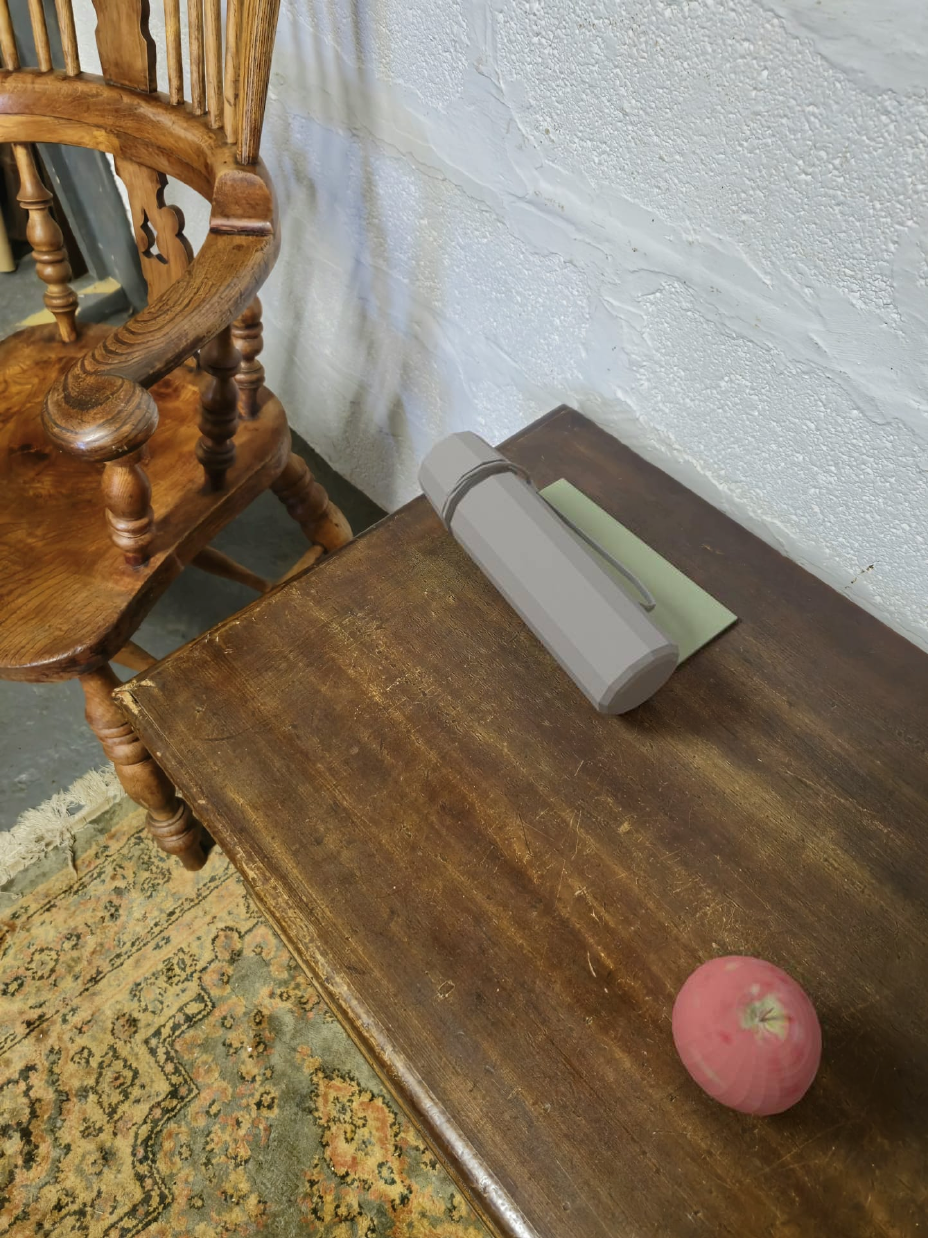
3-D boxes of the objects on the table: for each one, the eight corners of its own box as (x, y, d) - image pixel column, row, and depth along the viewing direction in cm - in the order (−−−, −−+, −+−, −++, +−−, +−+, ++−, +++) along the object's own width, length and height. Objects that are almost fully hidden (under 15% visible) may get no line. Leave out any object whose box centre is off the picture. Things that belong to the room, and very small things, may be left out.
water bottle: (616, 680, 54) (412, 444, 65) (593, 738, 60) (411, 513, 72) (720, 620, 57) (509, 405, 69) (688, 680, 64) (500, 474, 75)
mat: (736, 620, 67) (738, 617, 67) (632, 700, 62) (633, 697, 62) (562, 480, 76) (562, 477, 76) (459, 540, 71) (459, 537, 71)
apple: (687, 954, 51) (725, 909, 45) (805, 1024, 49) (863, 988, 43) (636, 1070, 47) (670, 1039, 41) (762, 1152, 45) (818, 1133, 39)
